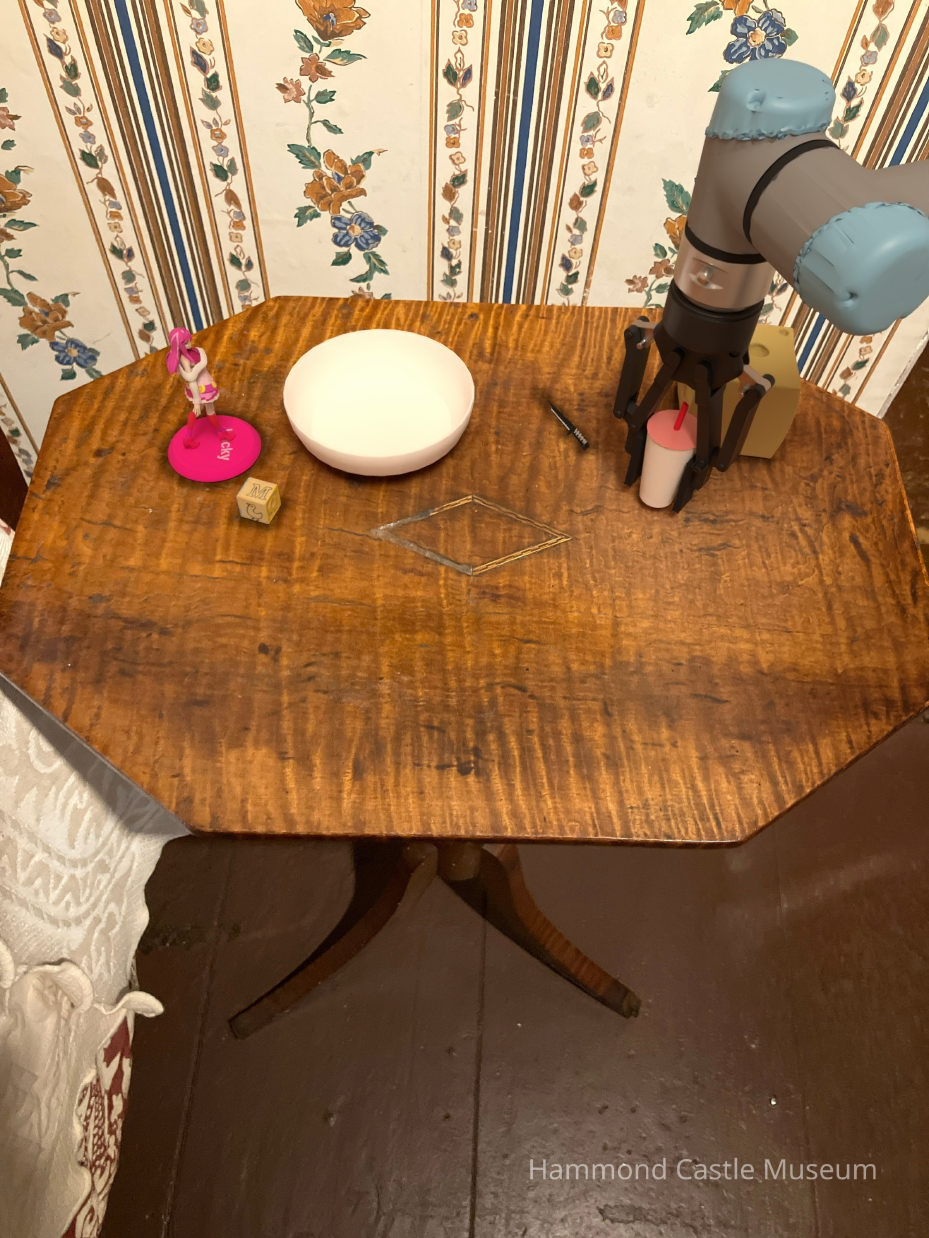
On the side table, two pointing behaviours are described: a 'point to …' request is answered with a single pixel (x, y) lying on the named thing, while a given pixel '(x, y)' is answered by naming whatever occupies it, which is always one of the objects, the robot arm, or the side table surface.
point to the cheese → (777, 406)
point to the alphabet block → (258, 500)
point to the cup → (667, 454)
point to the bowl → (379, 401)
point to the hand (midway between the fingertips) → (657, 490)
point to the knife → (569, 426)
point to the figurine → (206, 422)
